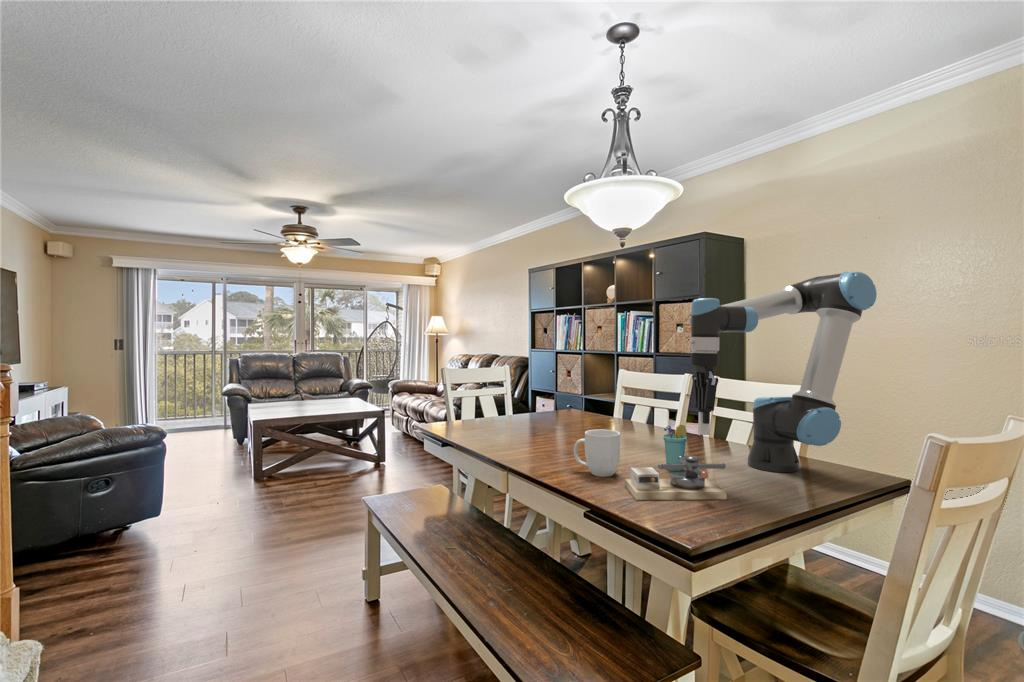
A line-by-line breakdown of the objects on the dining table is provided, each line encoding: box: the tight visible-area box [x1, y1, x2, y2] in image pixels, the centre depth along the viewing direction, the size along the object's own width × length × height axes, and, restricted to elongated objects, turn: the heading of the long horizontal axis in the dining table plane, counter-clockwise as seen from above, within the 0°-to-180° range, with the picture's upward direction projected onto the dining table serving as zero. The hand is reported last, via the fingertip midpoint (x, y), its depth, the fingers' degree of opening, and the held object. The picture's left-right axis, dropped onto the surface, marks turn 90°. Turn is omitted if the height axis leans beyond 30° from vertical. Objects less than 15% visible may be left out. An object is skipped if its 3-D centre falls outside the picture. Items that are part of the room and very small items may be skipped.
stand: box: [624, 466, 728, 501], centre depth 134 cm, size 24×12×6 cm, turn 91°
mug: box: [573, 428, 621, 478], centre depth 153 cm, size 15×11×13 cm
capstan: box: [657, 454, 727, 489], centre depth 134 cm, size 19×19×7 cm
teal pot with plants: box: [662, 423, 688, 472], centre depth 157 cm, size 14×8×15 cm, turn 140°
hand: (704, 434), depth 139 cm, fingers closed
